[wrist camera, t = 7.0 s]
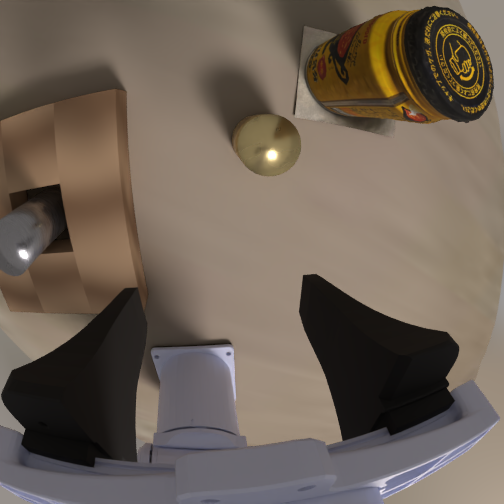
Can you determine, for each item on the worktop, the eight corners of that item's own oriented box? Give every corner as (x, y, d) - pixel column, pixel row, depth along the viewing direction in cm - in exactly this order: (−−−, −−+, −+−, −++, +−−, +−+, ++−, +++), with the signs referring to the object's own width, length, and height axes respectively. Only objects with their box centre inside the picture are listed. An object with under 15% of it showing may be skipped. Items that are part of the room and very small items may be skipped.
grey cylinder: (77, 226, 19) (37, 272, 13) (44, 234, 19) (0, 279, 13) (65, 183, 18) (16, 215, 12) (31, 193, 17) (-20, 228, 11)
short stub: (282, 164, 20) (299, 176, 16) (231, 165, 19) (237, 176, 16) (284, 115, 18) (302, 116, 15) (231, 114, 18) (238, 113, 14)
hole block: (148, 294, 23) (143, 312, 21) (21, 296, 21) (10, 311, 19) (126, 91, 16) (115, 88, 14) (-17, 131, 14) (-34, 136, 12)
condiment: (302, 26, 15) (400, -40, 5) (399, 56, 17) (518, 49, 6) (293, 117, 19) (395, 127, 8) (391, 137, 20) (511, 174, 9)
